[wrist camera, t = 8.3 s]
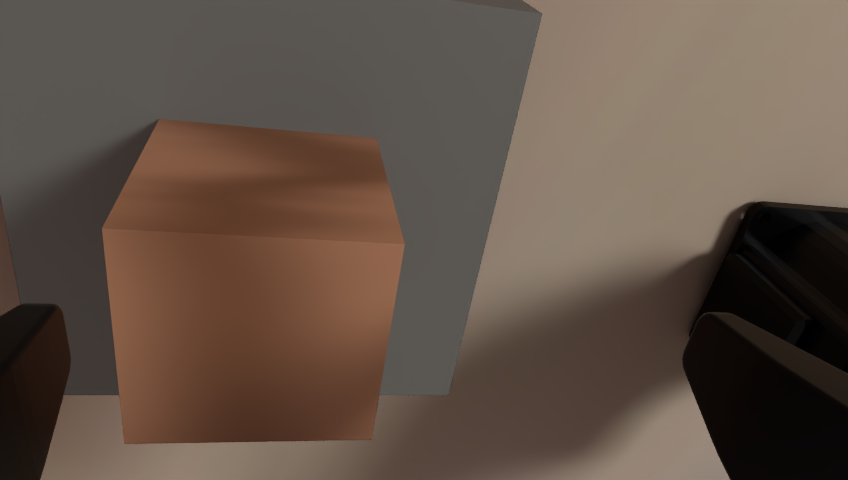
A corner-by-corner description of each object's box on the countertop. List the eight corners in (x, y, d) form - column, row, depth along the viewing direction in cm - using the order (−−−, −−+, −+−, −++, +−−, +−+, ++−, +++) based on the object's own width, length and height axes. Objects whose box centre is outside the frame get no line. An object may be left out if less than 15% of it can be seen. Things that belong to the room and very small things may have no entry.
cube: (376, 138, 16) (405, 244, 11) (355, 302, 18) (371, 439, 14) (159, 118, 14) (102, 228, 10) (168, 296, 17) (124, 443, 13)
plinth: (501, -14, 18) (542, 13, 15) (429, 327, 24) (448, 395, 21) (19, -88, 15) (-50, -73, 12) (74, 318, 21) (37, 394, 18)
